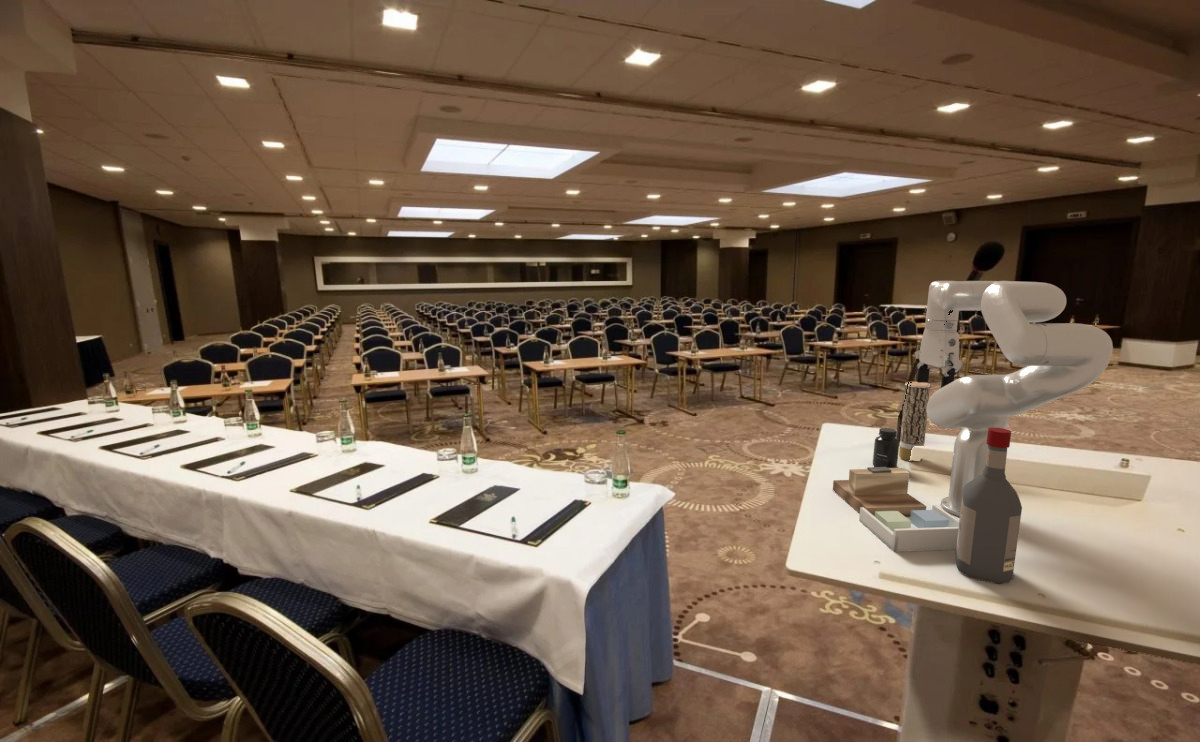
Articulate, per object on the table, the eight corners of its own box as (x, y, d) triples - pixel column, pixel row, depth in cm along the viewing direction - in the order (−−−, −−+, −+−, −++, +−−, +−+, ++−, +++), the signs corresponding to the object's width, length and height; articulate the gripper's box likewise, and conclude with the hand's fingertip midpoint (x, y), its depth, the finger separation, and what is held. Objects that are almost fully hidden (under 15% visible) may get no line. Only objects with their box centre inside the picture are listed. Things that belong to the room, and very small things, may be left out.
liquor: (956, 575, 108) (973, 433, 103) (954, 555, 116) (969, 421, 111) (1013, 588, 104) (1033, 439, 98) (1006, 566, 112) (1025, 427, 106)
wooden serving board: (925, 517, 134) (926, 506, 133) (866, 519, 133) (867, 508, 133) (885, 488, 151) (885, 478, 151) (832, 490, 151) (833, 480, 150)
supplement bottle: (875, 469, 166) (878, 432, 164) (870, 462, 172) (872, 426, 170) (899, 471, 164) (903, 433, 162) (893, 463, 171) (896, 427, 169)
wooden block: (907, 494, 140) (909, 470, 139) (854, 495, 140) (856, 471, 139) (899, 489, 144) (901, 465, 142) (848, 490, 143) (849, 467, 142)
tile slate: (947, 532, 125) (948, 520, 124) (924, 532, 125) (925, 520, 124) (932, 521, 130) (933, 509, 130) (910, 522, 130) (911, 510, 130)
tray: (978, 548, 118) (980, 527, 118) (893, 551, 118) (895, 530, 117) (934, 518, 133) (936, 499, 132) (859, 520, 133) (860, 501, 132)
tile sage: (910, 533, 125) (911, 521, 124) (886, 534, 125) (887, 522, 124) (896, 522, 130) (897, 510, 130) (874, 523, 130) (875, 511, 129)
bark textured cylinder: (894, 457, 176) (900, 382, 172) (907, 454, 179) (914, 380, 174) (913, 463, 170) (920, 386, 166) (927, 460, 173) (935, 384, 168)
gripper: (977, 329, 140) (969, 392, 144) (931, 322, 157) (925, 378, 161) (951, 330, 140) (943, 394, 143) (907, 322, 157) (901, 379, 160)
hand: (934, 386), depth 152 cm, fingers open, 9 cm apart
